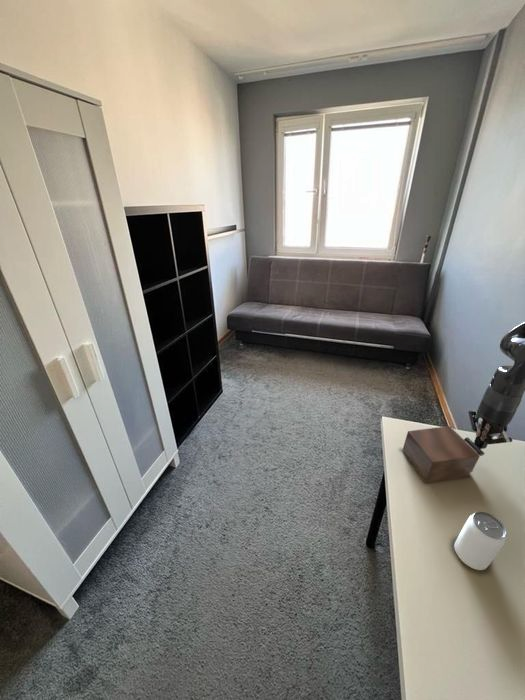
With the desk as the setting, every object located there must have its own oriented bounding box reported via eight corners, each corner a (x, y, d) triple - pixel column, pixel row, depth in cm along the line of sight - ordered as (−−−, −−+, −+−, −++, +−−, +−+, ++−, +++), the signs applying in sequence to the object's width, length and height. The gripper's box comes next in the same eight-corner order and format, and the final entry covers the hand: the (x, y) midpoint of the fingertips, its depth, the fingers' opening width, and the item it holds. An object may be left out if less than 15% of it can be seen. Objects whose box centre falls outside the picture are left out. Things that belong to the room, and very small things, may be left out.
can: (448, 538, 66) (463, 508, 61) (475, 539, 66) (494, 509, 60) (464, 570, 61) (483, 541, 55) (495, 571, 60) (517, 541, 55)
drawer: (459, 443, 90) (465, 427, 87) (485, 470, 81) (493, 454, 78) (410, 449, 89) (415, 433, 85) (431, 477, 80) (438, 461, 76)
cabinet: (441, 445, 91) (449, 425, 87) (468, 476, 81) (478, 456, 76) (402, 450, 89) (407, 431, 85) (424, 482, 79) (432, 462, 75)
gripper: (536, 417, 70) (509, 463, 79) (492, 386, 82) (473, 429, 90) (509, 420, 70) (485, 467, 78) (468, 389, 81) (451, 432, 89)
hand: (478, 446), depth 84 cm, fingers closed
